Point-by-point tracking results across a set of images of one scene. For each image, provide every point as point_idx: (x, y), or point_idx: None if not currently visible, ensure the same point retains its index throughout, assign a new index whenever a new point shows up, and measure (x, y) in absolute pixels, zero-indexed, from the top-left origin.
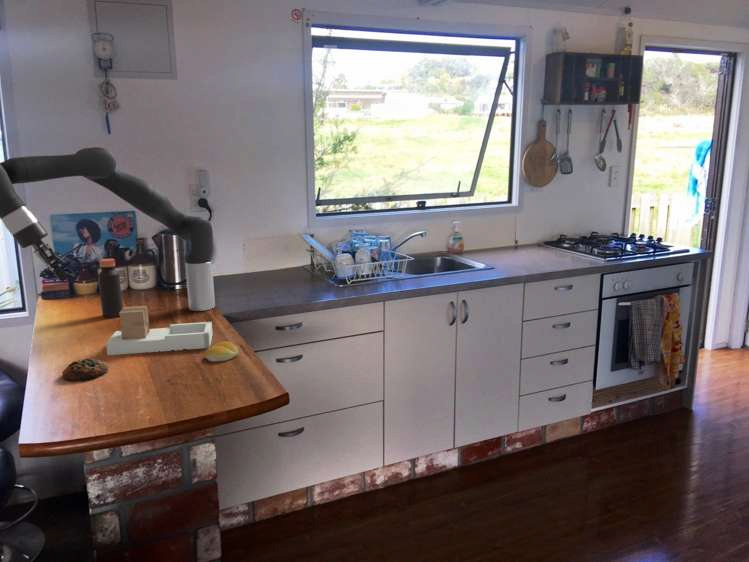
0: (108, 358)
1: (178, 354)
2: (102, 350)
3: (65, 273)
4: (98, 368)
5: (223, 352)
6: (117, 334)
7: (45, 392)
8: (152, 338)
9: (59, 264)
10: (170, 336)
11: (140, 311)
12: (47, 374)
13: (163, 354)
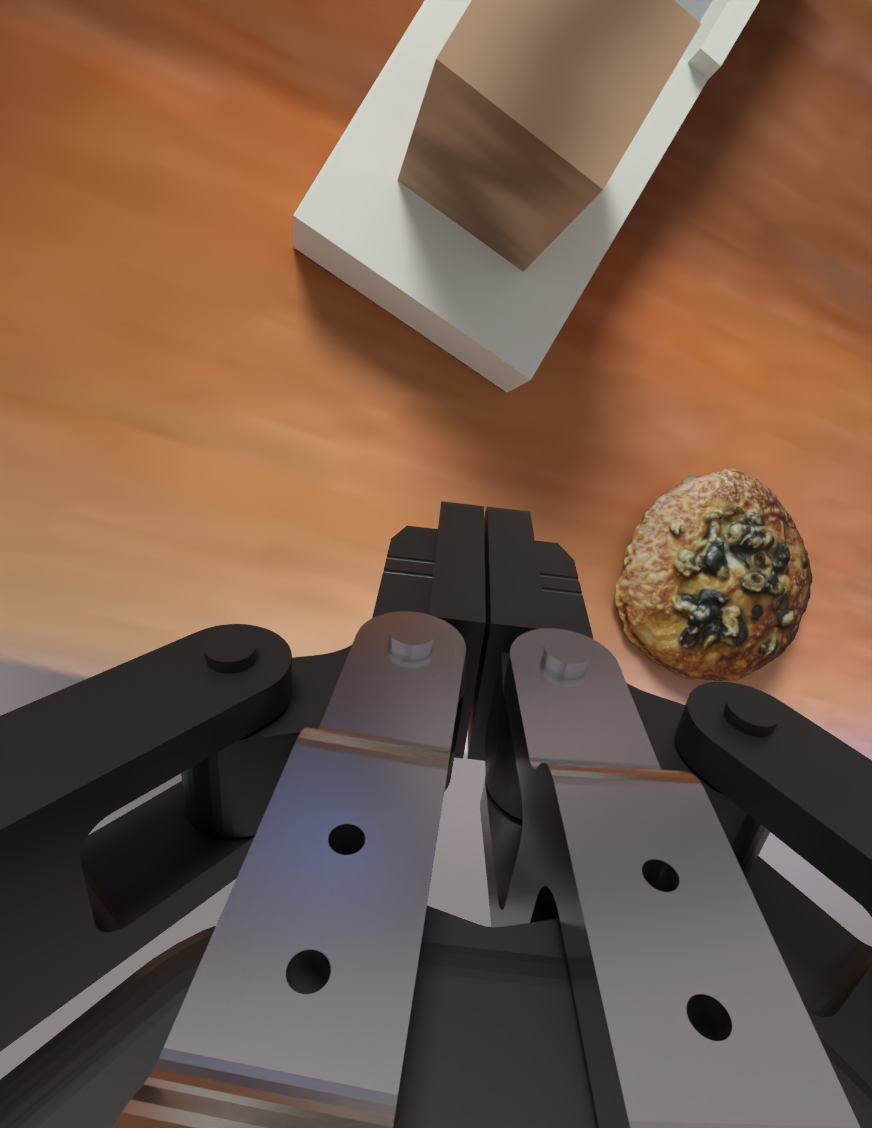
0: (560, 408)
1: (760, 107)
2: (393, 378)
3: (532, 549)
4: (792, 534)
5: None
6: (382, 240)
7: None
8: None
9: (617, 674)
10: (734, 39)
11: (689, 40)
12: None
13: (705, 163)
